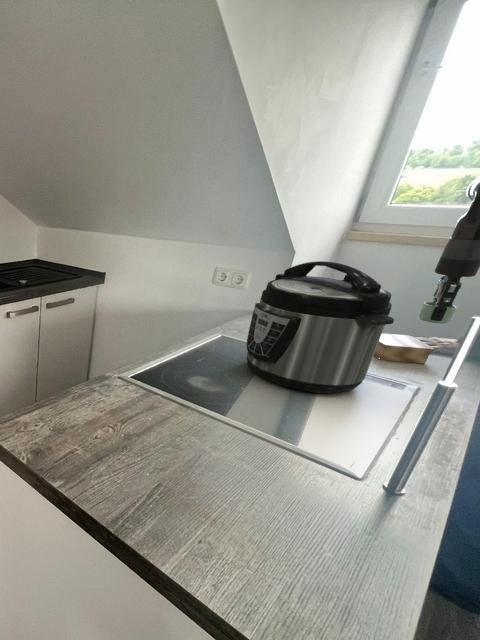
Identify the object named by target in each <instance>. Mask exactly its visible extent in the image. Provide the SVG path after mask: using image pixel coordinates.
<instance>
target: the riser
mask: <svg viewBox="0 0 480 640" xmlns="http://www.w3.org/2000/svg"><path fill="white" fill-rule="evenodd" d="M435 351H436V348H434V347H433V346H431V345H429V344H427V343H425V342H423V341H422V340H420V339H418V338H416V337H415V336H412V335H407V334H393V333H383V332H382V335H381V337H380V340H379V342H378V345H377V348H376V350H375V353H374V355H373V356H374V357H376V356H377V357H378V358H377V357H376V358H377V359H379V358H380V359H385V360H384V361H391V360H393V361H392V362H402V363H404V362H405V363H415V364H426V363H427V361H428V358H429V357H430V354H431V352H435ZM380 359H379V360H380Z"/></svg>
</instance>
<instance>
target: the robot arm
mask: <svg viewBox="0 0 480 640" xmlns="http://www.w3.org/2000/svg"><path fill="white" fill-rule="evenodd" d="M466 196H467V198H468V199H469V200H470V201H471V205H470V206H469V208H468V210H467V212H466V213H465V214H464V215H462V216H461V217H460V218H459V219H458V220H457V223H456V224H455V226H454V228H453V230H452V234H451V236H450V238H449V239H448V241H447V243H446V244H445V246H444V248H443V250H442V252H441V255H440V257H439V260H438V262H437V265H436V267H435V268H434V273H435V274H437V275H441V277H440V279H439V280H438V282H437V285H436V288H435V290H434V293H433V298H432V300H433V301H432V302H437V303H436V304H435V305H436V306H435V308H434V311H433V313H432V315H431V317H430V319H431V320H435V321H441V320H442V319H443V317H444V315H445V313H446V310H447V308H449V307H451V306H452V305H453V303H454V301H455V299H456V298H457V295H458V293H459V290H460V289H461V288H462V285H463V283H462V281H461V279H462V278H472V277H475V276H476V275H477V274H478V272H479V269H480V176H479V177H477V178H476V179H474V180H473V181H472V182H470V184H469V186H468V187H467V189H466Z"/></svg>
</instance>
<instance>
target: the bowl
mask: <svg viewBox="0 0 480 640" xmlns="http://www.w3.org/2000/svg"><path fill="white" fill-rule="evenodd" d="M436 303H437V302H433V301H424V302H422V305H421V306H420V310H419V312H418V314H417V317H418V319H419V320H420V321H423V322H427V323H432V324H440V325H441V324H442V325H443V324H448V323H450V322H452V321H453V318H454V315H455V313H456V311H457V310H458V306H456V305H454V304H452V306H451V307H449V308H447V310H446V313H445V315H444V317H443V319H442V320H441V321H435V320H431V319H430V317H431V315H432V313H433V311H434V308H435V306H436V305H435V304H436Z"/></svg>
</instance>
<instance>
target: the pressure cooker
mask: <svg viewBox="0 0 480 640" xmlns="http://www.w3.org/2000/svg"><path fill="white" fill-rule="evenodd" d="M315 267H327V268H329V269H333V270H335V271H337V272H340V273H343V274H345V275H344V278H343V279H335V278H331V277H323V276H322V277H321V276H311V275H308V274H310V272H311V271H313V269H314V268H315ZM391 299H392V293H391V292H389V291H388V290H386V289H383V288H382V284H381V283H379V282H378V281H377V280H375V278H373V277H371V276H370V275H368V274H367V273H365V272H363V271H361V270H360V269H357V268H355V267H352V266H350V265H347V264H343V263H340V262H334V261H323V260H322V261H320V260H319V261H318V260H317V261H308V262H303V263H300V264H296V265H294V266H291V267H289V268H287V269H285V270H284V273H277V274H276V275H275V278H274V279H273V280H270V281H268V282H267V284H266V287H265V289H263V291H262V293H261V296H260V299H259V302H255V304H254V308H253V313H252V316H251V319H250V324H249V328H248V334H247V339H246V346H245V347H246V361H247V365H248V367H249V369H250V370H251V371H252V372H253V373H254V374H256V375H257V376H259V377H260V378H262V379H265V380H267V381H268V382H271V383H274V384H277V385H279V386H283V387H287V388H290V389H295V390H299V391H303V392H311V393H320V394H338V393H343V392H346V391H347V392H348V391H353V390H355V389H356V388H357V387H359V386H360V385H361V384H362V383H363V381H364V380H365V379H366V376H367V374H368V371H369V368H370V366H371V363H372V360H373V357H374V356H375V355H374V353H375V350H376V348H377V345H378V342H379V340H380V337H381V335H382V333H383V332H384V329H385V326H386V325H392V324H394V323H395V322H394V321H395V318H393V317H391V316H390V313H391V310H392V308H393V304H392V303H391Z"/></svg>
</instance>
